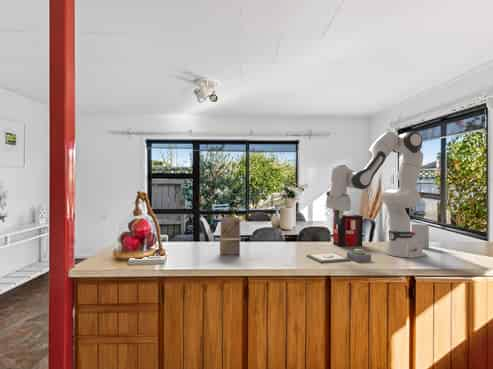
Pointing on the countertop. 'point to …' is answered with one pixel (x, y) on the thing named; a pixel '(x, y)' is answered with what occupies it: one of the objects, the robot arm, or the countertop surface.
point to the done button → (358, 251)
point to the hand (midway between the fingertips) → (337, 217)
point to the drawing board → (328, 257)
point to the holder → (148, 260)
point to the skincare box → (421, 234)
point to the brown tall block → (230, 236)
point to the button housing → (359, 257)
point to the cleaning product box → (348, 231)
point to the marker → (337, 217)
